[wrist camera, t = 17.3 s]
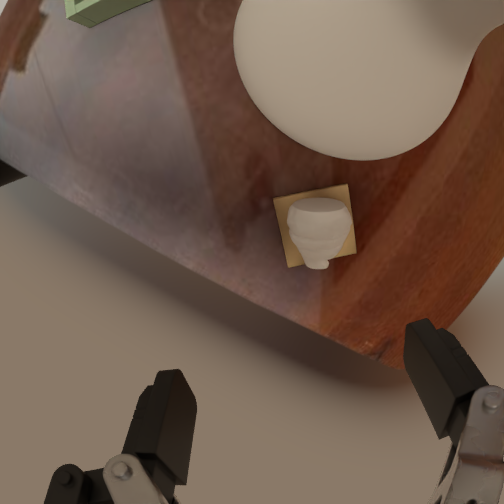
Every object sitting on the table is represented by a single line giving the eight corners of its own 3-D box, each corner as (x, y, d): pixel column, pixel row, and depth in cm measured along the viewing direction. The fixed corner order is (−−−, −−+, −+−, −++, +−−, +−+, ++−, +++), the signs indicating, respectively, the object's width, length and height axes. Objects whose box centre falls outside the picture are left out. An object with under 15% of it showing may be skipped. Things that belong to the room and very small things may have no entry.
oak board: (287, 265, 31) (288, 268, 31) (272, 197, 29) (273, 199, 28) (355, 250, 31) (356, 253, 30) (346, 183, 28) (347, 184, 27)
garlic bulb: (286, 258, 31) (291, 287, 26) (283, 198, 28) (289, 216, 23) (341, 255, 30) (356, 282, 25) (342, 195, 28) (360, 212, 23)
